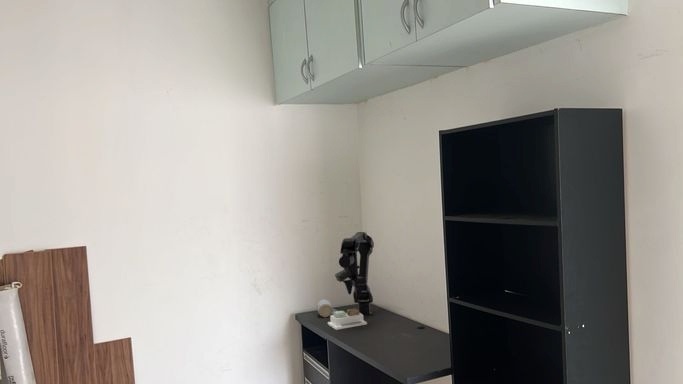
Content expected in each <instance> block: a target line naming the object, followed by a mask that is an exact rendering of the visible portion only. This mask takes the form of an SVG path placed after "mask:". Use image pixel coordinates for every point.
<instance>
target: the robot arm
mask: <svg viewBox="0 0 683 384" xmlns="http://www.w3.org/2000/svg"><path fill="white" fill-rule="evenodd" d="M374 247H375V242H374V241H373V238H372V237H371V236H370V235H368V234H367V232H365V231H358V232H355V234H354V235H352V236H350V237H346V238H343V240H342V242H341V246H340V254H341V256H340V258H339V260H338V264H339V265H340V267H341V268H343V270H341V271H339V272H337V273H335V274H334V276H335V278H336V281H337V282H340V283H341V282H342V283H343V284H344V285H345V287H346V291H347V294H348V295H351V294H352V297H353V301H354V303H355V304H358V305H357V306H358V307H357V308H358V310H359V313H361V314H363V317H364V316H369V315H373V312H371V307H370V304H372V303H373V302H374V296H373V294H372V293H371V288H370V286H369V283H368V278H369V264H370V256H371V255H372V253H373V250H374ZM358 253H359V263H358ZM353 288H354V290H353ZM352 291H353V292H352Z"/></svg>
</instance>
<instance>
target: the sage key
mask: <svg viewBox="0 0 683 384" xmlns="http://www.w3.org/2000/svg"><path fill="white" fill-rule="evenodd" d="M346 313H347V311H346V312H345V311H344V310H337V312H334V317H335V318H342V317H346Z"/></svg>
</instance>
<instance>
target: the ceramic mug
mask: <svg viewBox="0 0 683 384" xmlns="http://www.w3.org/2000/svg"><path fill="white" fill-rule="evenodd" d="M316 309H317V312H318V314H319V316H321V317H323V318H328V317H330V316H331V315H334V312H337V311H338V310H337V309H335V308H333V307H332V304H331V302H330V301H329V300H328V299H321V300H319V301H318V302H317V305H316Z"/></svg>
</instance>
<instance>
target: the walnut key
mask: <svg viewBox="0 0 683 384" xmlns="http://www.w3.org/2000/svg"><path fill="white" fill-rule="evenodd" d="M346 310H347V311H346V313H347V314H348V315H349V316H354V315H359V309H357V308H356V307H355V308H351V309H350V308H349V309H346Z"/></svg>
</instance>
